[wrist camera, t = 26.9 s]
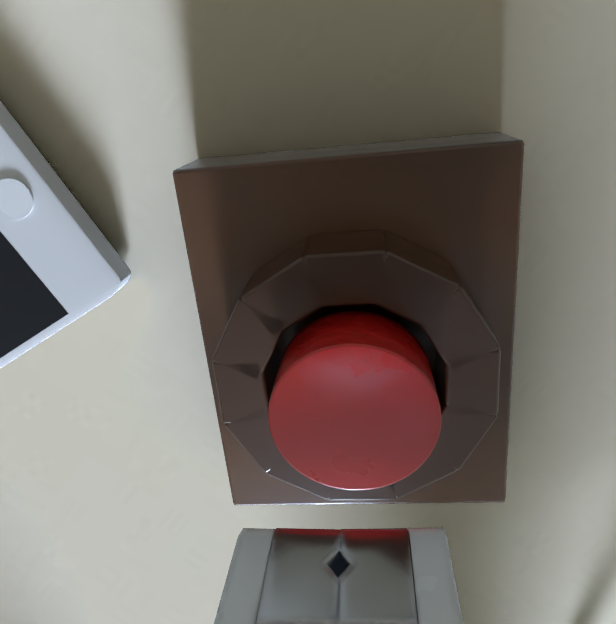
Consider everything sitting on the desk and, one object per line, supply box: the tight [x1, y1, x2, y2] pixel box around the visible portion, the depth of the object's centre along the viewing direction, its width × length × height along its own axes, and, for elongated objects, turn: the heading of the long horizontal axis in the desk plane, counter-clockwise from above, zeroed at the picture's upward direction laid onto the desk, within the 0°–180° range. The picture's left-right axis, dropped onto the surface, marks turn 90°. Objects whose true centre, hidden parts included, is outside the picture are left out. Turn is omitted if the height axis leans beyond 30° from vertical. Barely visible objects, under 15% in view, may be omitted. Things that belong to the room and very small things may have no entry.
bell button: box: [268, 311, 442, 490], centre depth 12 cm, size 4×4×2 cm
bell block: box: [173, 132, 524, 505], centre depth 14 cm, size 10×8×4 cm
